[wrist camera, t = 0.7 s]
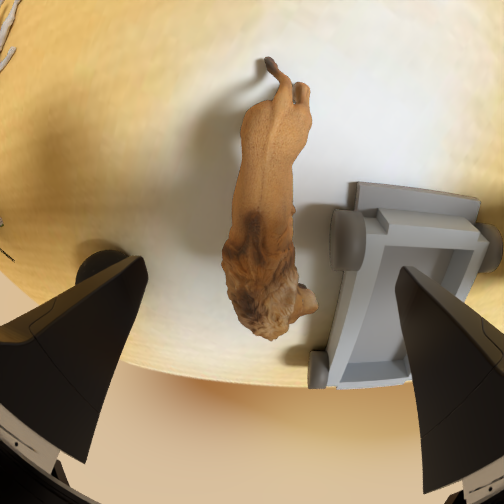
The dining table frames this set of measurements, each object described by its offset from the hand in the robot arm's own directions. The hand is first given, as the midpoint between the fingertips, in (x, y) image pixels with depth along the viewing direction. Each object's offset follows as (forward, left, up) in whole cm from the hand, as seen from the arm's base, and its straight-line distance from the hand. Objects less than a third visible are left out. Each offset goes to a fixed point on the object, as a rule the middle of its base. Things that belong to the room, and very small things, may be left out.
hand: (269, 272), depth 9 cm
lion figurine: (0, 0, -11) cm, 11 cm away
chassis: (-11, +11, -11) cm, 19 cm away
